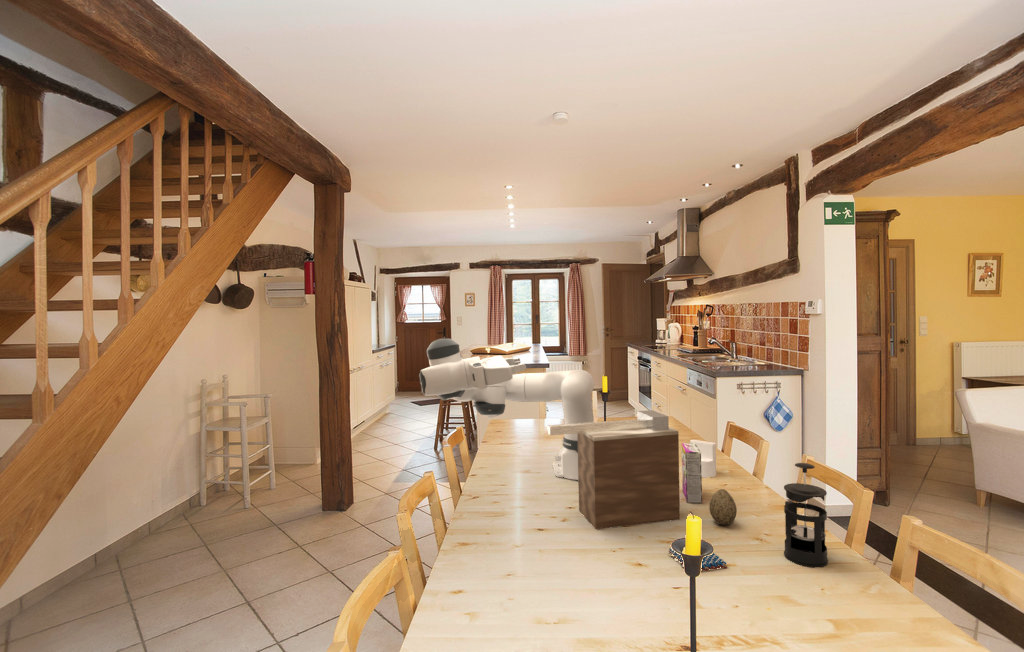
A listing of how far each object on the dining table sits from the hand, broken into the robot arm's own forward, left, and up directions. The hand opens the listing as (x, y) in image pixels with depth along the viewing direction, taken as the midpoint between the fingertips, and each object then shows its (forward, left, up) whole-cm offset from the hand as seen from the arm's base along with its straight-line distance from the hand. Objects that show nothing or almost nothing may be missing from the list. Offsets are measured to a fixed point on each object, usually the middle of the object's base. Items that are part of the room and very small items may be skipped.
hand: (522, 363), depth 147 cm
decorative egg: (+16, +54, -47) cm, 73 cm away
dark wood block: (+3, +31, -47) cm, 56 cm away
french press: (+38, +61, -47) cm, 86 cm away
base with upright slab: (-25, +74, -47) cm, 91 cm away
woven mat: (+33, +35, -47) cm, 67 cm away
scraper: (+3, +24, -21) cm, 32 cm away
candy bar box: (-5, +57, -47) cm, 74 cm away
